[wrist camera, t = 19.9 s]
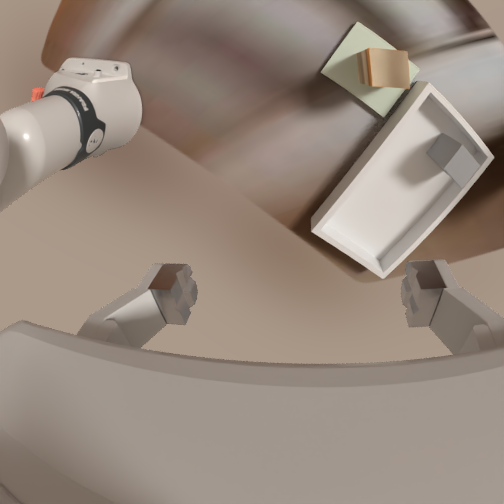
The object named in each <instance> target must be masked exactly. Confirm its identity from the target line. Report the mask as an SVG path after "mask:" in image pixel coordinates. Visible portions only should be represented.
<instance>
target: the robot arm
mask: <svg viewBox="0 0 504 504" xmlns="http://www.w3.org/2000/svg"><path fill="white" fill-rule="evenodd" d="M117 67H118V70H117ZM43 93H44V94H43ZM42 96H43V98H42ZM31 101H32V102H29V103H26V104H23V105H20V106H18V107H15V108H12V109H10V110H7V111H6V112H4V113H2V114H1V115H0V212H2V211H3V210H4V209H5V208H7V207H8V206H9V205H10V204H12V203H13V202H14V201H15V200H17V199H18V198H19V197H21V196H22V195H24V194H25V193H26V192H28V191H29V190H30V189H32V188H33V187H35V186H36V185H38V184H39V183H41V182H42V181H44V180H45V179H47V178H48V177H50V176H51V175H53V174H55V173H56V172H58V171H59V170H65V169H68V168H70V167H72V166H74V165H75V164H77V163H79V162H81V161H82V160H84V159H87V158H89V157H91V156H93V157H98V156H100V155H102V154H103V153H105V152H106V151H107V150H110V149H115V148H119V147H122V146H124V145H125V144H127V143H128V142H129V141H130V140H131V139H132V138H133V137H134V135H135V134H136V132H137V130H138V128H139V125H140V122H141V117H142V103H141V98H140V95H139V92H138V90H137V88H136V86H135V85H134V83H133V80H132V75H131V68H130V65H129V64H128V63H126V62H120V61H111V60H102V59H90V58H74V57H73V58H68V59H67V60H66V61H65V62H64V63H63V65H62V66H61V68H60V70H59V71H58V72H56V73H54V74H53V75H52V76H51V77H50V79H49V81H48V83H47V85H46V88H45V89H44V88H41V87H40V88H39V87H38V88H34V89H33V92H32V98H31ZM405 272H406V275H407V276H406V277H405V278H404V279H403V281H402V286H401V298H402V303H403V305H404V306H405V307H406V308H407V310H406V313H405V314H406V318H407V322H408V326H409V327H426V326H430V327H429V328H430V329H431V330H432V331H433V332H434V333H435V334H436V335H437V336H438V338H439V339H440V340H441V341H442V342H443V343H444V344H445V345H446V347H447V348H448V349H449V350H450V351H451V352H452V354H453V355H448V356H441V357H433V358H424V359H414V360H404V361H390V362H374V363H350V364H292V363H266V362H248V361H236V360H224V359H214V358H204V357H196V356H187V355H180V354H172V353H165V352H159V351H152V350H146V349H141V347H142V346H143V345H144V344H145V343H146V342H148V341H149V340H150V339H151V338H152V337H153V336H155V335H156V334H157V333H158V332H159V331H160V330H161V329H162V328H164V327H165V326H166V324H178V325H186V323H187V320H188V318H189V316H190V314H191V312H190V309H189V308H190V307H192V306H193V305H194V304H195V302H196V300H197V293H198V292H197V285H196V282H195V281H194V280H193V279H192V278H191V277H190V276H191V274H192V270H191V268H190V266H189V265H188V264H158V263H157V264H153V265H152V266H151V267H150V269H149V270H148V272H147V273H146V275H145V276H144V277H143V279H142V280H141V282H140V283H139V285H138V286H137V288H136V289H131V290H130V291H128V292H127V293H125V294H124V295H122V296H120V297H119V298H117V299H116V300H114V301H112V302H111V303H109V304H107V305H106V306H104V307H103V308H101V309H100V310H98V311H96V312H95V313H93V314H91V315H90V316H89V317H88V318H87V320H86V321H85V323H84V324H83V326H82V327H81V329H80V331H79V332H78V334H77V335H74V334H70V333H66V332H62V331H58V330H55V329H51V328H48V327H44V326H41V325H37V324H34V323H31V322H28V321H23V320H22V321H18V322H16V323H14V324H12V325H10V326H9V327H7V328H5V329H4V330H2V331H1V332H0V504H504V318H503V317H501V316H500V315H499V314H497V313H496V312H495V311H494V310H492V309H491V308H490V307H488V306H487V305H486V304H485V303H483V302H482V301H480V300H479V299H478V298H477V297H475V296H474V295H472V294H471V293H469V292H468V291H467V290H465V289H464V288H463V287H461V288H459V286H458V284H457V282H456V280H455V278H454V276H453V274H452V272H451V270H450V268H449V266H448V264H447V263H446V261H445V260H444V259H439V260H430V261H408V262H407V264H406V267H405Z"/></svg>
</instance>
